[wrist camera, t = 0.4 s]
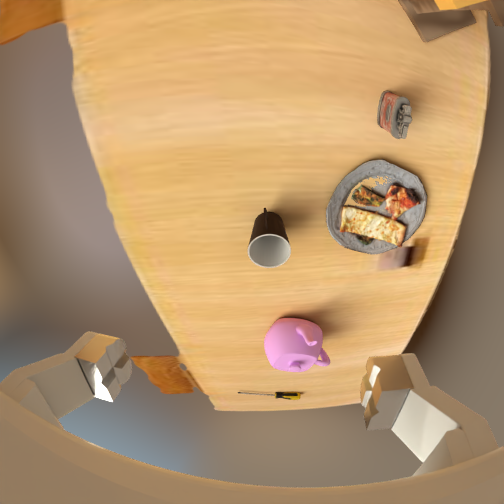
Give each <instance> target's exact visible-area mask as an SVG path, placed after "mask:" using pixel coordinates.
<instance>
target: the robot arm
mask: <svg viewBox="0 0 504 504" xmlns="http://www.w3.org/2000/svg"><path fill="white" fill-rule="evenodd" d="M126 349H127V347H126V345H125V342H124V340H122V339H121V338H117V337H112V336H108V335H103V334H98V333H94V332H91V331H90V332H86V333H85V334H84V335H83V336H82V337H81V338H80V339H79V340H78V341H77V342H76V343H75V344H74V345H72V346H71V347H70V348H69V349H68V350H67V351H66V352H65V353H64V354H62V353H60V354H57V355H55V356H52V357H49V358H46V359H44V360H41V361H38V362H35V363H32V364H30V365H27V366H24V367H21V368H18V369H15V370H13V371H12V372H11V373H10V374H9V375H8V376H7V377H6V378H5V379H4V380H3V381H2V382H1V383H0V504H504V446H503V447H501V448H499V447H498V445H497V442H496V440H495V438H494V436H493V434H492V431H491V429H490V427H489V425H488V423H487V421H486V419H484V418H483V417H482V416H480V415H478V414H477V413H475V412H474V411H472V410H471V409H469V408H468V407H466V406H464V405H463V404H461V403H460V402H458V401H457V400H455V399H454V398H452V397H451V396H449V395H448V394H446V393H444V392H443V391H441V390H440V389H438V388H437V387H435V386H430V385H429V383H428V380H427V378H426V377H425V374H424V372H423V370H422V368H421V366H420V364H419V362H418V359H417V357H416V355H415V354H413V353H410V354H400V355H392V356H376V357H369V359H368V360H367V364H366V370H367V374H366V375H365V376H363V379H362V383H361V391H360V395H361V403H362V405H363V406H364V407H365V408H366V409H365V412H364V420H365V426H366V430H378V429H389V428H392V431H393V432H394V433H395V434H396V435H397V436H398V437H399V438H400V439H401V440H402V441H403V442H404V443H405V444H406V445H407V446H408V447H409V449H410V450H411V451H412V452H413V453H414V454H415V455H416V456H417V457H418V458H419V459H420V460H421V461H422V462H423V464H422V465H421V466H420V467H419V469H418V470H417V471H416V472H415V473H414V475H413V476H411V477H407V478H402V479H396V480H391V481H385V482H378V483H371V484H362V485H353V486H340V487H317V488H295V487H294V488H293V487H292V488H291V487H271V486H258V485H248V484H239V483H232V482H225V481H219V480H213V479H208V478H202V477H197V476H192V475H188V474H184V473H179V472H175V471H171V470H168V469H164V468H160V467H157V466H153V465H150V464H147V463H143V462H140V461H137V460H134V459H131V458H128V457H126V456H123V455H120V454H117V453H115V452H112V451H109V450H107V449H104V448H102V447H100V446H97V445H95V444H93V443H91V442H88V441H86V440H84V439H82V438H80V437H77V436H75V435H73V434H71V433H69V432H67V431H65V430H64V429H63V426H62V425H61V423H60V422H59V421H58V419H59V418H61V417H63V416H64V415H66V414H68V413H69V412H71V411H73V410H74V409H76V408H78V407H80V406H81V405H83V404H85V403H86V402H88V401H90V400H91V399H93V398H94V396H95V397H98V398H101V399H105V400H108V401H111V402H113V401H114V400H115V398H116V397H117V395H118V394H119V393H120V391H121V385H122V384H124V383H126V382H127V381H128V379H129V378H130V376H131V371H132V363H131V360H130V358H129V356H128V355H127V354H126V353H125V351H126Z"/></svg>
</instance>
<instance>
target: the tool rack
mask: <svg viewBox="0 0 504 504" xmlns="http://www.w3.org/2000/svg"><path fill="white" fill-rule="evenodd" d="M398 1H399V3H400V4H401V6H402V7H403V9H404V10H405V12H406V13H407V15H408V17H409V18H410V20H411V22H412V23H413V25H414V27H415V28H416V30H417V32H418V33H419V35H420V37H421V39H422V41H423V42H428V41H430V40H433V39H435V38H437V37H440V36H442V35H445V34H447V33H450V32H452V31H455V30H457V29H460V28H463V27H465V26H468V25H471V24H474V23H476V21H475V18H474V16H473V15H472V13H471V11H470V10H488V11H489V13H490V15H491V17H492V19H493V21H494V23H495V25H496V26H504V0H487V1H483V2H479V3H476V4H472V5H469V6H465V7H462V8H459V9H449V10H440V9H439V8H438V6H437V4H436V3H435V1H434V0H398Z"/></svg>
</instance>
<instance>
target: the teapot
mask: <svg viewBox="0 0 504 504" xmlns="http://www.w3.org/2000/svg"><path fill="white" fill-rule="evenodd" d="M322 341H323V334H322V330H321V329H320V327H319V326H318V325H316V324H315V323H313V322H311V321H308V320H304V319H299V318H281V319H278V320H277V321H275V323H274V324H273V325H272V326H271V328H270V329H269V331H268V332H267V334H266V337H265V340H264V347H265V352H266V355H267V357H268V360H269V362H270V364H271V365H272V367H273V368H275V369H278V370H283V371H290V372H303V371H306V370H308V369H309V368H310V367H311V366H312V365H313V364H316V365H320V366H328V365H329V364H330V359H329V357H328V355H327V354H326V352H325V351H324V350H323V348H322ZM319 354H320V356H321V358H322V360H323V361H321V360H317V359H318V357H319Z"/></svg>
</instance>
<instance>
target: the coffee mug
mask: <svg viewBox="0 0 504 504" xmlns="http://www.w3.org/2000/svg"><path fill="white" fill-rule="evenodd" d="M290 254H291V247H290V244H289V241H288V237H287V234H286V231H285V228H284V225H283V222H282V219H281V217H280V216H279V215H277V214H276V213H273V212H267V210H266V208H264V213H262V214H260V215H259V216H258V217H257V218H256V220H255V223H254V227H253V231H252V235H251V239H250V242H249V246H248V255H249V258H250V259H251V261H252V262H253V263H255V264H256V265H258V266H261V267H265V268H273V267H277V266H280V265H282V264H284V263H285V262H286V261H287V260H288V259H289V257H290Z"/></svg>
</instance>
